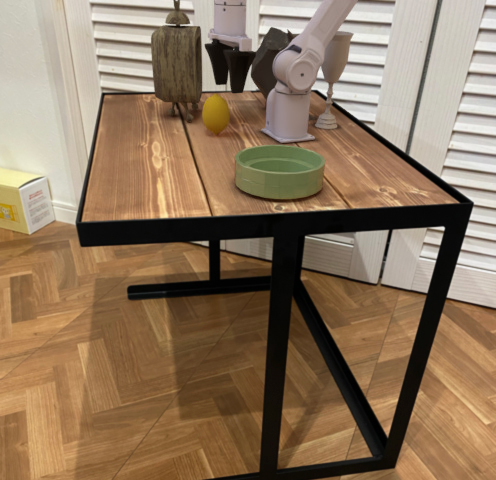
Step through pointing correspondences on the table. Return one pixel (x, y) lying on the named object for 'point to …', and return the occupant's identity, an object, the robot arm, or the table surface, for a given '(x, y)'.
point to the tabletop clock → (177, 62)
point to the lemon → (215, 114)
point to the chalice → (333, 72)
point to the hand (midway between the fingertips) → (228, 88)
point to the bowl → (279, 171)
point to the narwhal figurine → (269, 60)
